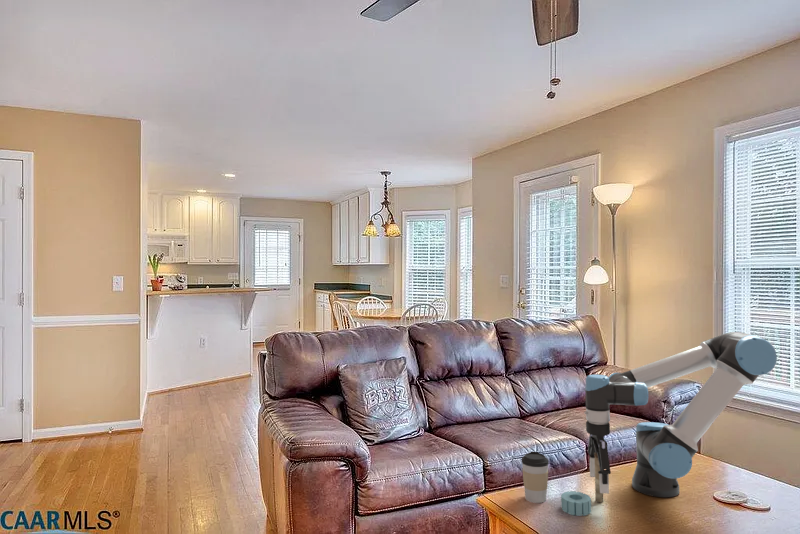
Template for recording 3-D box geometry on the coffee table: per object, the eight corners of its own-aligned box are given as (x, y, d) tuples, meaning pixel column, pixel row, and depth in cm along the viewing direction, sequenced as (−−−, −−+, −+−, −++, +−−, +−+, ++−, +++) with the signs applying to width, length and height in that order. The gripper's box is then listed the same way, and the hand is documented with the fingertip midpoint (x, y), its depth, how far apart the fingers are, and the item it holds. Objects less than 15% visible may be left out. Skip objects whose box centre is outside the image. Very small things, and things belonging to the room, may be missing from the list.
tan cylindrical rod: (602, 499, 178) (601, 452, 178) (604, 502, 175) (603, 454, 175) (594, 499, 178) (593, 452, 178) (596, 502, 176) (595, 454, 176)
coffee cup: (550, 505, 174) (549, 460, 174) (522, 503, 176) (521, 458, 176) (548, 494, 183) (547, 451, 183) (521, 492, 185) (521, 449, 185)
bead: (587, 503, 175) (587, 491, 175) (593, 516, 166) (593, 503, 166) (559, 502, 176) (559, 490, 176) (564, 515, 167) (564, 502, 167)
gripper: (578, 411, 190) (579, 470, 190) (595, 432, 165) (596, 500, 165) (600, 411, 189) (601, 470, 189) (620, 432, 164) (621, 500, 164)
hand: (599, 484), depth 177 cm, fingers open, 13 cm apart
